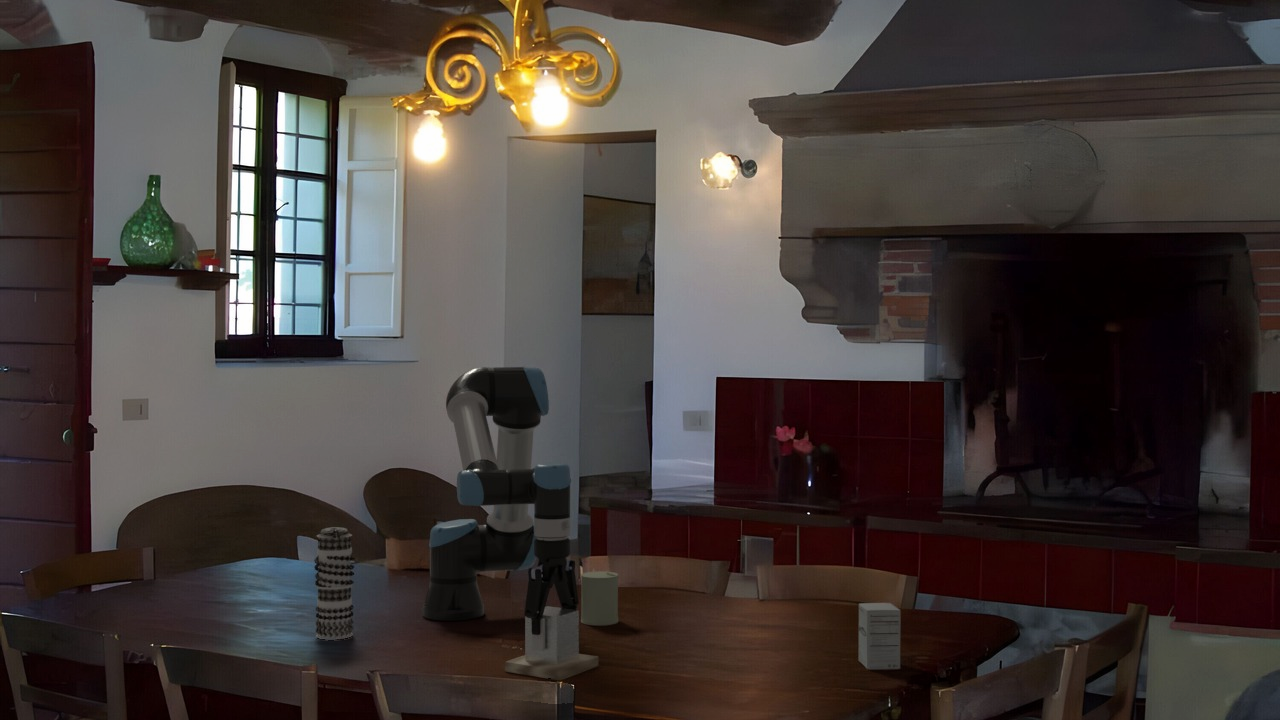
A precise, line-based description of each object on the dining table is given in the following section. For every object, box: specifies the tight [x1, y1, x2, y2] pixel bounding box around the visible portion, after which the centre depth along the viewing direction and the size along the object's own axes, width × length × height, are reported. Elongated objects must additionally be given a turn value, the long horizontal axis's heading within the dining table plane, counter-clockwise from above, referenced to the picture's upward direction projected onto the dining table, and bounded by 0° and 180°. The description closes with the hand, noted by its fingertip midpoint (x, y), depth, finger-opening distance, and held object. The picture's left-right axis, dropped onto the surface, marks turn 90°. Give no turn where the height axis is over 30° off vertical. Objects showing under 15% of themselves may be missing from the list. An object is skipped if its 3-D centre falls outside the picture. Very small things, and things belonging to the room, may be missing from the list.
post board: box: [504, 653, 599, 682], centre depth 279 cm, size 14×14×9 cm
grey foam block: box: [524, 605, 580, 666], centre depth 279 cm, size 8×8×10 cm
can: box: [580, 570, 619, 627], centre depth 326 cm, size 9×9×12 cm
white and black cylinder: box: [313, 526, 356, 639], centre depth 309 cm, size 9×9×25 cm
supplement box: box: [858, 602, 902, 671], centre depth 283 cm, size 7×7×13 cm
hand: (552, 645), depth 279 cm, fingers open, 9 cm apart
